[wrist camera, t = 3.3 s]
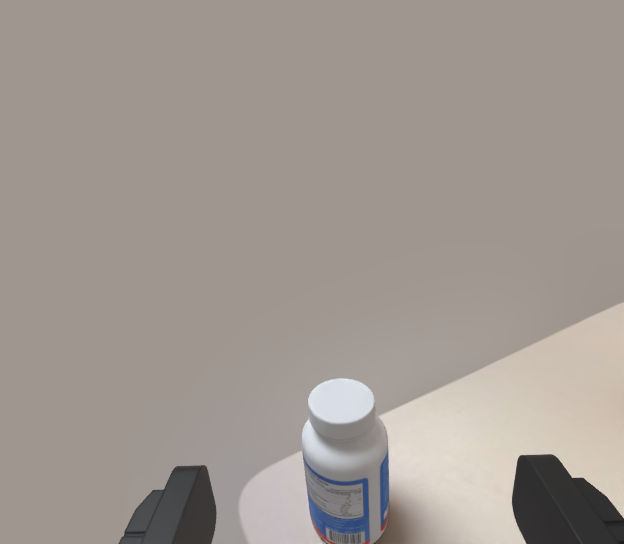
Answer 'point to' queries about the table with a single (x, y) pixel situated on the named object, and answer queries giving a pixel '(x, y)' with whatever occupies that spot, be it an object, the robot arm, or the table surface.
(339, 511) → the pill bottle
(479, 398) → the table surface
